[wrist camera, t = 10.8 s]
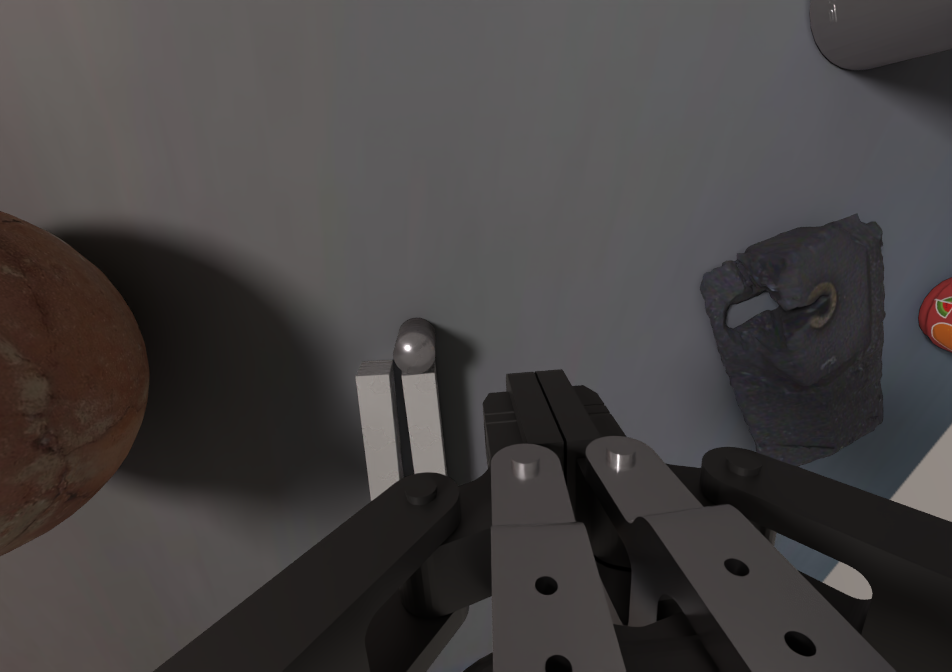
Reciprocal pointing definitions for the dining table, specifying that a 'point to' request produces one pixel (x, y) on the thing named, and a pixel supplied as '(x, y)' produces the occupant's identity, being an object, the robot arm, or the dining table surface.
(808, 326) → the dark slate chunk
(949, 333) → the smoothie
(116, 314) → the jug
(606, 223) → the dining table surface
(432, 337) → the base
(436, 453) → the tong arm
